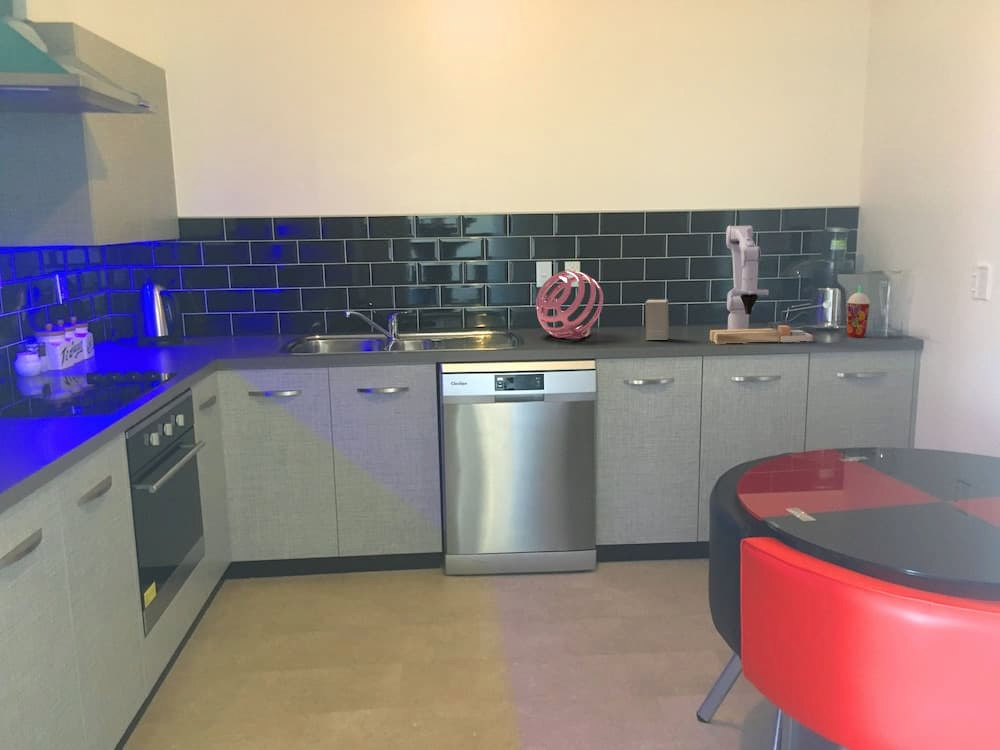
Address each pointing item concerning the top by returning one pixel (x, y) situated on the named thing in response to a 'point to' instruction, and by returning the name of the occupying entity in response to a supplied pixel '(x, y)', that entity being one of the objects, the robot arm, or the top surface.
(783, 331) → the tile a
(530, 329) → the top surface
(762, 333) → the board
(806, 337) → the tray
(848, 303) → the smoothie
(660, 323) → the skincare box
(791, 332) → the tile
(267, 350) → the top surface
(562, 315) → the spiral basket
